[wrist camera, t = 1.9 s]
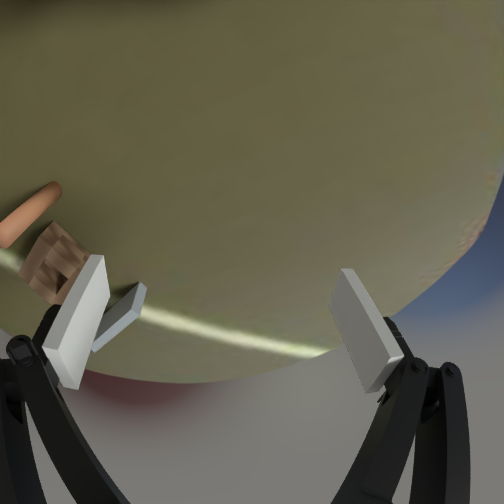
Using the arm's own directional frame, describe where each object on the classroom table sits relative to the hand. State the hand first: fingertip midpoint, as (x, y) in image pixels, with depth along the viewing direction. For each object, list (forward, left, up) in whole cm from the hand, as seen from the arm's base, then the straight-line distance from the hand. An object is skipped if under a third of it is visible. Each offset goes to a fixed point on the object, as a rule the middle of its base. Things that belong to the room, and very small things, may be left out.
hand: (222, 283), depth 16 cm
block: (-7, -29, -25) cm, 38 cm away
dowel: (-15, -20, -25) cm, 35 cm away
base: (+6, -29, -25) cm, 38 cm away
